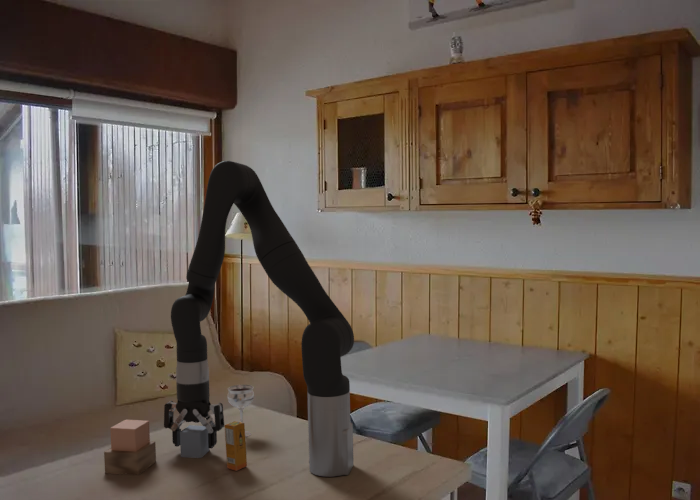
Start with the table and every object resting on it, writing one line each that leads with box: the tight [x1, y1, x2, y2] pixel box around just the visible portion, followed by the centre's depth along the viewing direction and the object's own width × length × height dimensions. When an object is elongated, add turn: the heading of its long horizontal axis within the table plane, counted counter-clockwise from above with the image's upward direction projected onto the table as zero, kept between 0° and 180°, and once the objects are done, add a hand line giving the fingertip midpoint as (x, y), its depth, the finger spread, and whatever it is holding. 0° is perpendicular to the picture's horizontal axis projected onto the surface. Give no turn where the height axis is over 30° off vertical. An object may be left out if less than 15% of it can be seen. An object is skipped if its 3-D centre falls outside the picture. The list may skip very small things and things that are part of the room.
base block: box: [103, 440, 157, 476], centre depth 148 cm, size 8×8×5 cm
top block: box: [109, 419, 151, 452], centre depth 148 cm, size 6×6×5 cm
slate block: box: [179, 424, 211, 459], centre depth 155 cm, size 5×5×6 cm
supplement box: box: [224, 421, 248, 472], centre depth 146 cm, size 3×4×10 cm
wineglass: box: [227, 384, 255, 438], centre depth 169 cm, size 7×7×12 cm
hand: (194, 446), depth 156 cm, fingers open, 8 cm apart
